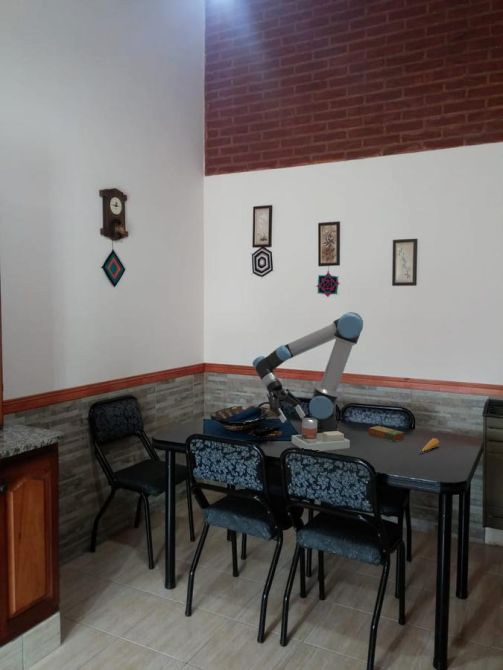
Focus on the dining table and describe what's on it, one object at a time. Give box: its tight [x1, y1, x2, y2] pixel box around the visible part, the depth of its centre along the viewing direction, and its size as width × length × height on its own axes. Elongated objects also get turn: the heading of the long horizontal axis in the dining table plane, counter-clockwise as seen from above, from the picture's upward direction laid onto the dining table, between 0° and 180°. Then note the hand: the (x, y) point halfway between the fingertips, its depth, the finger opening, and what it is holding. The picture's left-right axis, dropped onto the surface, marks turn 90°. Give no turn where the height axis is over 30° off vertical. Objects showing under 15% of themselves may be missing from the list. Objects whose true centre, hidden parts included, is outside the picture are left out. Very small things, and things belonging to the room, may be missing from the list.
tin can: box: [301, 417, 317, 444], centre depth 259 cm, size 7×7×12 cm
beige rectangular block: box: [322, 430, 345, 443], centre depth 258 cm, size 8×6×6 cm
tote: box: [291, 433, 351, 452], centre depth 258 cm, size 22×16×4 cm
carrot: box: [421, 437, 440, 451], centre depth 257 cm, size 20×4×4 cm, turn 139°
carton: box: [367, 425, 405, 442], centre depth 279 cm, size 8×16×4 cm, turn 39°
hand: (294, 419), depth 265 cm, fingers open, 13 cm apart
